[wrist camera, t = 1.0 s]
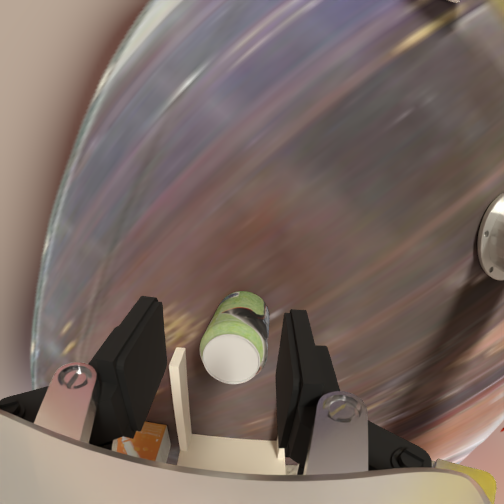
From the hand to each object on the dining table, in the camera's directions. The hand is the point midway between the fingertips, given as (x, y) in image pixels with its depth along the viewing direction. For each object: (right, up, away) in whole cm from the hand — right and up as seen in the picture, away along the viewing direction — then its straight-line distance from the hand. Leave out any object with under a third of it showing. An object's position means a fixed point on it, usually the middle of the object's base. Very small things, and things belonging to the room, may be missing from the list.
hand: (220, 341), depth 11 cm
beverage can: (0, -3, +26) cm, 26 cm away
